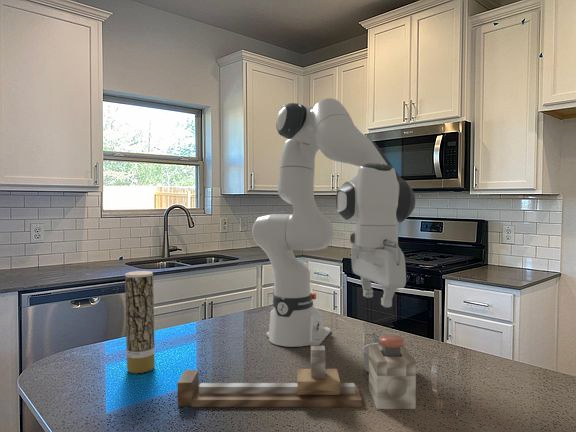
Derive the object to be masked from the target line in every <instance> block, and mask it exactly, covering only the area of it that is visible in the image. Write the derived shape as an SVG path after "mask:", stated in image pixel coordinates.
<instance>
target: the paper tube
mask: <svg viewBox="0 0 576 432" xmlns="http://www.w3.org/2000/svg"><path fill="white" fill-rule="evenodd" d="M124 278H125V279H124V280H125V281H124V282H125V283H124V287H125V293H124V294H125V327H126V328H125V330H126V331H125V332H126V333H125V334H126V335H125V337H126V339H125V340H126V342H125V343H126V369H127V372H128V373H131V374H138V373H140V374H145V373H144V372H146V373H149V372H151V371H153V369H154V368H155V363H156V362H155V361H156V360H155V303H154V300H155V299H154V295H155V294H154V271H149V270H136V271H129V272H126V273H125V276H124ZM148 371H149V372H148Z"/></svg>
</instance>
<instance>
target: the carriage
mask: <svg viewBox="0 0 576 432" xmlns="http://www.w3.org/2000/svg"><path fill="white" fill-rule="evenodd" d="M296 375H297V376H296V378H297V379H296V381H297V382H296V383H297V385H298V395H340V383H341V380H340V375H339V371H338V369H337V368H326V348H325V345H310V368H297V369H296Z"/></svg>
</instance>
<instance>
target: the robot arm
mask: <svg viewBox="0 0 576 432" xmlns="http://www.w3.org/2000/svg"><path fill="white" fill-rule="evenodd" d="M275 124H276V125H275V126H276V127H275V128H276V130H277V133H278V135H280V136H281V137H283V138H285V139H287V140H285V142H284V144H283V148H282V152H281V156H280V162H279V168H278V169H279V170H278V181H277V183H278V184H277V193H278V196H279V197H280V199H282V200H283V201H284V202H285V203H287V204H289V205H291V206H292V213H271V214H266V215H261V216H259V217H257V219H256V220H255V221H254V223H253V225H252V228H251V235H252V238H253V241H254V243H255V244H256V245H257V246H258V247H259V248H261V249H262V250H263V252H264V253H265V254H266V256H267V258H268V259H269V261H270V264H271V266H272V272H273V284H274V285H273V286H274V287H273V289H274V294H273V296H272V307H273V308H272V309H271V311H270V317H269V326H268V327H269V329H268V331H267V332H266V333H265V336H266V337H267V338H268V340H269V342H270V343H272V344H273V345H276V346H281V347H290V348H291V347H292V348H293V347H294V348H295V347H298V348H299V347H305V346H321V344H322V343H323V341H324V340H325V339H326V338H327V337H328V336H329V334H330V333H331V332H332V331H331V330H332V329H331V328H330V327H328V326H324V316H323V315H324V314H323V313H321V312H320V311H319V310H318V309H317V308H316V307H315V306H314V301H315V300H316V299H317V293H316V292H313V293H312V292H311V271H310V269H309V267H308V266H307V265H306V264H304V263H303V262H302V261H300V260H298V258H297V257H296V255H295V254H294V251H309V252H311V251H317V250H318V251H319V250H324V249H326V248H328V247H329V246H330V244H331V243H332V241H333V239H334V227H333V224H332V222H331V220H330V219H329V218H328V217H327V216H325V215H324V214H323V213H322V211H321V210H320V208H319V207H318V205H317V203H316V200H315V194H314V193H315V192H314V187H315V186H314V185H315V184H314V183H315V181H314V180H315V168H316V167H315V165H316V164H315V161H316V155H317V152H318V151H319V150H320V152H321V153H322V154H323V155H324V156H325V157H326V158H328V159H329V160H331V161H334V162H337V163H344V164H348V165H353V166H356V167H358V170H357V173H356V175H355V176H354V177H353V178H352V179H350V180H348V181H345V182H344V183H342V184H341V185H340V187H339V188H338V190H337V192H336V197H335V199H336V200H335V201H336V211H337V213H338V214H339V215H340V216H341V217H342V218H343V219H344V220H346V221H351V222H356V227H355V228H356V229H355V230H354V231H352V232H351V233H350V234H349V244H351V248H350V249H351V250H350V255H351V256H350V257H351V269H352V272H353V274H354V275H356V276H359V277H360V283H361V287H362V296H363V297H364V298H367V299H368V298H370V299H371V298H373V297H374V290H373V288H372V282H373V283H376V284H378V285H380V286H382V291H383V294H382V297H380V305H381V306H382V307H384V308H392V306H393V297H394V296H395V293H396V289H403V288H405V286H406V283H407V269H406V259H405V254H404V252H403V251H402V248H400V245H399V223H402V222H404V221H405V220H407V218H408V217H410V216H411V214H412V213H413V211H414V209H415V207H416V195H415V192H414V191H413V189H412V187H411V185H410V184H409V183H408V182H407V181H406V180H405V179H404V178H402V177H401V176H400V175H399V174H398V172H397V170H396V169H395V167H394V166H393V165H392V164H391V162H390V161H389V159H388V158H387V157H386V155H385V154H384V152H383V151H382V150H381V148H380V147H379V145H377V143H375V142H374V141H373V140H371V139H370V138H368V137H367V136H366V135H365V134H363V133H362V132H361V131H360V130H359V129H358V128H357V126H356V125H355V123H354V121H353V119H352V117H351V115H350V114H349V112H348V111H347V109H346V108H345V106H344V104H342V103H341V101H339V100H337V99H335V98H329V97H328V98H327V97H326V98H324V99H321V100H319V101H317V102H316V104H315V105H314V106H310V105H305V104H304V105H303V104H301V103H296V102H295V103H293V102H291V103H290V102H289V103H286V104H284V105H283V106H282V107H281V108H280V109H279V111H278V114H277V117H276V123H275Z"/></svg>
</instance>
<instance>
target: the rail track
mask: <svg viewBox="0 0 576 432" xmlns="http://www.w3.org/2000/svg"><path fill="white" fill-rule="evenodd" d="M407 350H408V348H406V346H404V345H403V346H402V347H400V357H384V356H383V354H382V346H369V372H368V390H369V392H370V395H371V397H372V400H373V402H374V404H375V407H376V409H377V410H416V409H417V408H416V399H417V398H416V394H417V393H416V392H417V388H416V387H417V384H416V383H417V382H416V381H417V361H416V359H414V357H413V355H411V353H410V352H409V350H408V351H407ZM199 373H200V372H199V369H184V371H183V373H182V374H181V376H180V378H179V380H178V381H177V383H176V384H177V387H176V388H177V406H179V407H182V406H183V407H187V406H188V407H191V408H206V407H207V408H213V407H214V408H261V407H262V408H296V407H297V408H298V407H299V408H307V407H308V408H309V407H310V408H335V407H336V408H362V407H363V399H362V396H361V393H360V390H359V387H358V385H357V383H355V382H340V395H298V385H297V382H201V383H199V382H200V381H199V380H200V379H199V377H200V376H199Z"/></svg>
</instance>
